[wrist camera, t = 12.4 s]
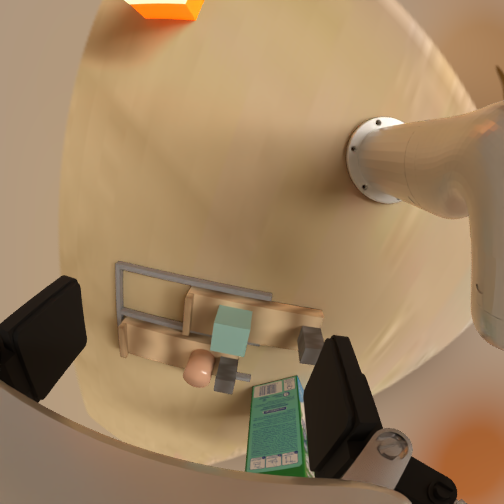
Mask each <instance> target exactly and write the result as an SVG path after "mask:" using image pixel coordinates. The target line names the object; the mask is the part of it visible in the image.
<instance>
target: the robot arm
mask: <svg viewBox="0 0 504 504" xmlns="http://www.w3.org/2000/svg"><path fill="white" fill-rule="evenodd" d="M376 122H377V123H378V124H377V125H376ZM352 147H353V148H354V151H352V150H351V148H352ZM346 162H347V168H348V172H349V175H350V177H351V179H352V181H353V183H354V184H355V186H356V187H357V188H358V190H360V191H361V192H362V193H363V194H364V195H365V196H367V197H368V198H370V199H372V200H374V201H377V202H380V203H386V204H392V203H398V202H401V201H405V202H407V203H409V204H412V205H414V206H416V207H419V208H421V209H423V210H425V211H428V212H430V213H432V214H434V215H436V216H439V217H442V218H446V219H460V218H464V217H467V216H469V224H470V237H471V254H472V273H471V314H472V319H473V323H474V325H475V328H476V330H477V331H478V333H479V334H480V336H481V337H482V338H483V339H484V340H485V341H486V342H487V343H489V344H490V345H492V346H494V347H496V348H498V349H501V350H504V101H500V102H496V103H494V104H491V105H489V106H486V107H484V108H481V109H478V110H475V111H473V112H470V113H467V114H463V115H458V116H453V117H447V118H440V119H432V120H425V121H418V122H411V123H404V122H402V121H400V120H398V119H395V118H391V117H376V118H372V119H369V120H367V121H366V122H364V123H362V124H361V125H360V126H359V127H358V128H357V129H356V130H355V131H354V133H353V134H352V136H351V138H350V140H349V142H348V146H347V151H346ZM362 185H364V188H362ZM86 343H87V336H86V330H85V323H84V315H83V307H82V298H81V288H80V285H79V284H78V282H77V280H76V279H75V278H71V277H68V276H65V275H63V276H61V277H60V278H58V279H57V280H56V281H54V282H53V283H52V284H50V285H49V286H47V287H46V288H45V289H43V290H42V291H41V292H40V293H38V294H37V295H36V296H34V297H33V298H32V299H30V300H29V301H28V302H27V303H25V304H24V305H23V306H21V307H20V308H19V309H18V310H16V311H15V312H14V313H13V314H11V315H10V316H9V317H8V318H7V319H5V320H4V321H3V322H2V323H1V324H0V504H467V503H465V502H464V501H463V500H462V499H461V500H459V501H458V500H457V499H456V498H457V489H456V486H455V484H454V483H453V481H452V480H451V479H449V478H448V477H446V476H444V475H443V474H441V473H439V472H437V471H435V470H434V469H432V468H430V467H428V466H427V465H425V464H424V463H422V462H420V461H419V460H417V459H415V458H414V457H412V456H411V455H412V451H413V449H412V444H411V441H410V439H409V438H408V437H407V436H406V435H405V434H404V433H402V432H401V431H399V430H396V429H392V428H384V429H383V427H382V424H381V421H380V418H379V415H378V412H377V408H376V406H375V403H374V400H373V397H372V394H371V391H370V388H369V385H368V382H367V379H366V377H365V375H364V374H362V373H361V370H360V367H359V364H358V361H357V359H356V356H355V353H354V350H353V348H352V345H351V342H350V340H349V338H348V337H344V336H337V335H333V336H332V337H331V338H330V339H329V338H327V339H326V340H325V342H324V345H323V347H322V350H321V352H320V355H319V357H318V360H317V362H316V364H315V367H314V369H313V371H312V374H311V376H310V378H309V381H308V383H307V385H306V387H305V390H304V394H303V401H304V411H305V422H306V433H307V444H308V456H309V468H310V471H311V472H314V474H315V478H311V477H292V476H279V475H268V474H259V473H251V472H243V471H236V470H230V469H223V468H218V467H213V466H208V465H203V464H198V463H193V462H189V461H185V460H181V459H177V458H173V457H169V456H166V455H162V454H159V453H155V452H152V451H149V450H145V449H142V448H139V447H136V446H133V445H130V444H127V443H125V442H122V441H119V440H116V439H114V438H111V437H108V436H106V435H103V434H101V433H99V432H96V431H94V430H92V429H89V428H87V427H85V426H82V425H80V424H78V423H76V422H74V421H72V420H70V419H67V418H65V417H63V416H61V415H59V414H57V413H56V412H54V411H52V410H50V409H48V408H46V407H44V406H42V405H41V404H39V403H38V402H39V401H40V400H43V399H44V398H45V397H46V396H47V395H48V393H49V392H50V391H51V389H52V388H53V386H54V385H55V384H56V383H57V381H58V380H59V379H60V377H61V376H62V375H63V374H64V372H65V371H66V370H67V368H68V367H69V366H70V365H71V363H72V362H73V361H74V360H75V358H76V357H77V356H78V355H79V353H80V352H81V351H82V350H83V349H84V347H85V346H86Z"/></svg>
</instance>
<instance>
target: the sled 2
mask: <svg viewBox="0 0 504 504" xmlns="http://www.w3.org/2000/svg"><path fill="white" fill-rule="evenodd" d="M219 305H223V306H228V307H233V308H238V309H243V310H249V311H252V319H251V328H250V334H249V338H248V342H249V343H255V344H260V345H266V346H272V347H278V348H285V349H291V350H298V352H299V361H300V363H302V364H310V365H315V364H316V362H317V360H318V357H319V355H320V352H321V350H322V347H323V345H324V341H323V337H322V333H321V329H320V328H321V325H322V323H323V320H324V316H323V313H322V310H318V309H312V308H306V307H300V306H294V305H288V304H283V303H277V302H272V301H266V300H260V299H255V298H250V297H245V296H240V295H235V294H230V293H225V292H220V291H215V290H210V289H205V288H201V287H196V286H191V288H190V290H189V292H188V293H187V295H186V297H185V306H184V318H183V331H182V335H186V336H189V333H190V331H195V332H200V333H204V334H209V335H212V333H213V326H214V321H215V318H216V315H217V311H218V308H219Z"/></svg>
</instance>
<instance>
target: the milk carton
mask: <svg viewBox="0 0 504 504" xmlns="http://www.w3.org/2000/svg"><path fill="white" fill-rule="evenodd" d="M303 394H304V390H303V388H302V386H301V383H300V381H299V379H298V376H294V377H290V378H286V379H282V380H278V381H274V382H270V383H266V384H262V385H257V386H253V387H252V397H251V409H250V421H249V432H248V443H247V455H246V466H245V472H251V473H259V474H268V475H279V476H292V477H311V478H315V474H314V472H311V471H310V468H309V456H308V444H307V433H306V422H305V411H304V401H303Z"/></svg>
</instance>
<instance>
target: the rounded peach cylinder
mask: <svg viewBox="0 0 504 504" xmlns="http://www.w3.org/2000/svg"><path fill="white" fill-rule="evenodd" d="M214 364H215V357H214V355H213V354H212V353H211V352H209V351H207V350H204V349H196V350H194V351H192V352H191V354H190V357H189V360H188V362H187V365H186V368H185V371H184V373H183V378H184V380H185V381H186V382H187V383H188V384H190V385H191V386H194V387H199V388H201V387H206V386H207V385H209V383H210V380H211V376H212V372H213V368H214Z"/></svg>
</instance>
